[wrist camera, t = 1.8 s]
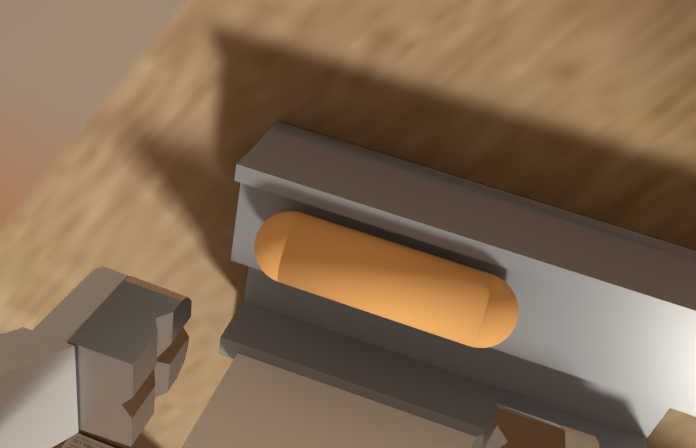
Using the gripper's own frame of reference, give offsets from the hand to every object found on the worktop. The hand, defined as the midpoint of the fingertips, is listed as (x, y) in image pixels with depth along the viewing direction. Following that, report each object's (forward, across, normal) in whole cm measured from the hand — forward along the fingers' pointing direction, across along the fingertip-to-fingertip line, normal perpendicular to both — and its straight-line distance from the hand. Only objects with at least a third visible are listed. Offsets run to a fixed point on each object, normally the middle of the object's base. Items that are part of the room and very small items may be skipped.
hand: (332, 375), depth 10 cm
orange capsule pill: (+14, 0, +8) cm, 16 cm away
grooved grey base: (+19, -4, +14) cm, 24 cm away
